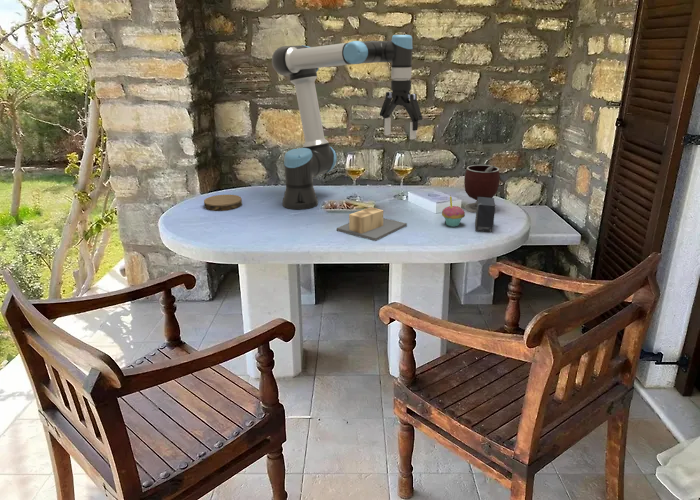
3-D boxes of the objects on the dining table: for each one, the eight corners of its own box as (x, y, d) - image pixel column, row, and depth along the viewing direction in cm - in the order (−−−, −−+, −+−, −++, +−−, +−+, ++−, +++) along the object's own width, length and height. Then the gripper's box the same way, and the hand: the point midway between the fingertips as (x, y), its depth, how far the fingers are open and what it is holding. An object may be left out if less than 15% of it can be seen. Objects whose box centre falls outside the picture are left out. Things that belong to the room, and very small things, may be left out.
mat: (336, 230, 193) (336, 228, 192) (368, 217, 207) (368, 214, 207) (375, 240, 182) (375, 238, 182) (406, 225, 196) (406, 223, 196)
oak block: (371, 222, 198) (349, 229, 190) (371, 207, 196) (349, 214, 188) (383, 225, 194) (361, 233, 186) (383, 210, 192) (361, 217, 184)
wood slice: (202, 212, 216) (201, 205, 214) (206, 202, 230) (205, 195, 229) (241, 210, 218) (240, 203, 217) (242, 200, 232) (242, 193, 231)
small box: (493, 232, 189) (496, 205, 185) (475, 231, 190) (477, 204, 186) (492, 223, 198) (494, 197, 194) (474, 222, 199) (476, 196, 196)
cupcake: (451, 229, 192) (453, 198, 188) (436, 223, 199) (438, 193, 194) (468, 225, 196) (471, 194, 192) (453, 219, 203) (455, 189, 199)
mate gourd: (456, 205, 220) (460, 158, 213) (486, 202, 223) (490, 156, 216) (473, 216, 206) (477, 167, 199) (504, 213, 209) (510, 164, 202)
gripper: (433, 80, 186) (430, 139, 194) (384, 77, 204) (384, 132, 212) (419, 81, 182) (417, 142, 190) (371, 78, 199) (370, 134, 207)
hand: (399, 137), depth 201 cm, fingers open, 13 cm apart
